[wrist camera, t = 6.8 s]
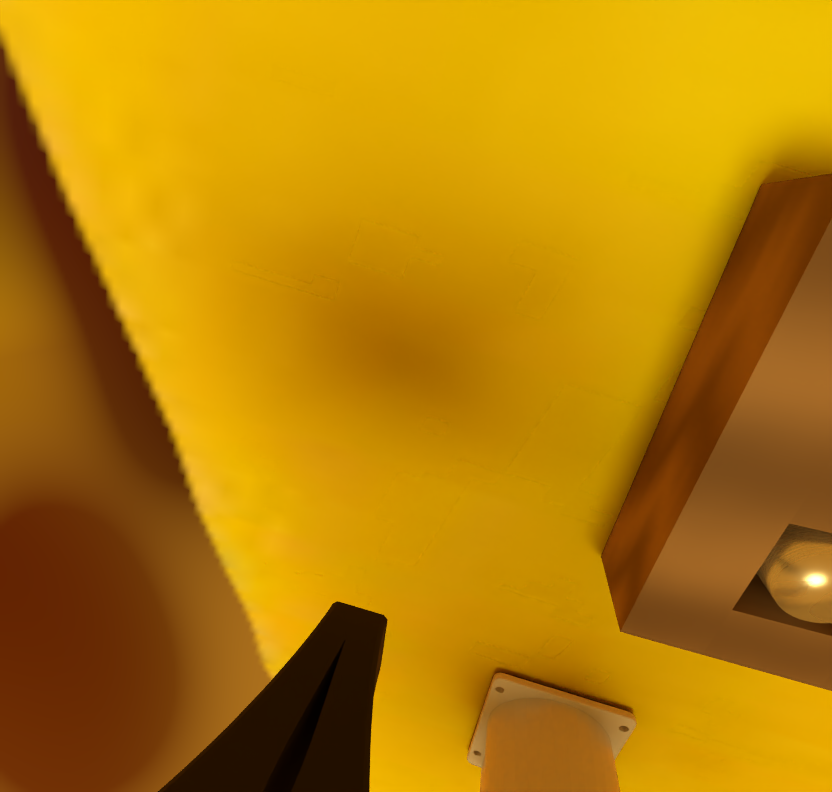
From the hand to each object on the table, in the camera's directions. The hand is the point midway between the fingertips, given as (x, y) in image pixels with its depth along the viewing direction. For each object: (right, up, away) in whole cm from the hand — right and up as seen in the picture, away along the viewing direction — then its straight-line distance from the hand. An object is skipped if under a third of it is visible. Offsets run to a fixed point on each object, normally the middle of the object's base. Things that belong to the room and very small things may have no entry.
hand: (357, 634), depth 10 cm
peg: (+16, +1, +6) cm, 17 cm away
